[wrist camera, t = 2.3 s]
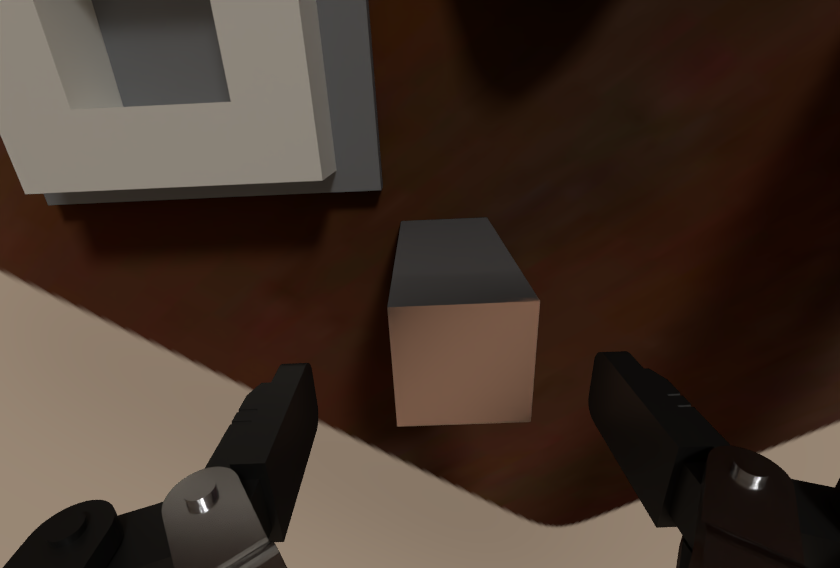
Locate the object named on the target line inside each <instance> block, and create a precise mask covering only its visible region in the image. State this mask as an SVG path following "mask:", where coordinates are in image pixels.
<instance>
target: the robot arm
mask: <svg viewBox="0 0 840 568" xmlns="http://www.w3.org/2000/svg"><path fill="white" fill-rule="evenodd" d="M588 402H589V410H590V414H591V417H592V419H593V421H594V423H595V425H596V426H597V428H598V430H599V432H600V433H601V435H602V437H603V438H604V440H605V442H606V443H607V445H608V447H609V448H610V450H611V452H612V453H613V455H614V457H615V458H616V460H617V462H618V463H619V465H620V467H621V469H622V470H623V472H624V474H625V475H626V477H627V479H628V480H629V482H630V484H631V485H632V487H633V489H634V490H635V492H636V494H637V495H638V497H639V499H640V501H641V502H642V504H643V506H644V507H645V509H646V510H647V512H648V513H649V516H650V517H651V519H652V521H653V522H654V524H655V526H656V527H678V529H679V530H680V532H681V533H682V535H683V536H682V539H681V542H680V546H679V552H678V559H677V566H676V568H840V479H839V481H838V483H837V485H836V487H835V488H834V487H829V486H824V485H818V484H814V483H809V482H803V481H799V480H794V479H791V478H790V477H789V476H788V474H786V472H785V471H784V470H782V468H780V467H779V466H778V465H777V464H775V463H774V462H772V461H771V460H769V459H768V458H766V457H764V456H762V455H760V454H758V453H756V452H753V451H751V450H748V449H744V448H741V447H736V446H731V445H730V444H729V443H728V442H727V441H726V440H725V439H724V438H723V437H722V436H721V435H720V434H719V433H718V432H717V431H716V430H715V429H714V428H713V427H712V425H711V424H710V423H709V422H708V421H707V420H706V419H705V418H704V417H703V416H702V415H701V414H700V413H699V412H698V411H697V410H696V409H695V408H694V407H691V404H690V403H689V402H688V401H687V400H686V399H685V397H684V396H681V395H680V392H679V391H678V390H677V389H676V388H675V387H674V386H673V385H672V384H671V383H670V382H669V381H668V380H667V379H665V378H664V377H662V376H660V375H659V374H657V373H655V372H654V371H652V370H650V369H644V368H643V367H642V366H641V365H640V364H639V363H638V362H637V361H636V360H635V359H634V357H633V356H632V355H631V354H630V353H629V352H626V351H621V352H599V353H597V355H596V357H595V360H594V366H593V373H592V379H591V385H590V392H589V401H588ZM317 426H318V405H317V399H316V393H315V386H314V380H313V374H312V368H311V365H310V364H309V363H296V364H281V365H280V367H279V369H278V371H277V373H276V374H275V376H274V378H273V380H272V382H271V383H261V384H260V385H259V386H257V387H256V388H255V389H254V390H253V391H252V392H250V393H249V394H248V395H247V396H246V398H245V400H244V401H243V403H242V405H241V407H240V408H239V412H238V413H236V415H235V417H234V419H233V420H232V424H231V425H230V426H229V427H228V429H227V431H226V432H225V434H224V436H223V438H222V439H221V441H220V443H219V445H218V446H217V448H216V450H215V452H214V453H213V455H212V457H211V458H210V460H209V462H208V464H207V465H206V467H205V469H202V470H199V471H197V472H195V473H193V474H191V475H189V476H187V477H186V478H184V479H183V480H181V481H180V482H179V483H178V484H176V485H175V487H173V489H172V490H171V491H170V492H169V493H168V495H167V496H166V498H165V500H164V502H161V503H158V504H155V505H152V506H148V507H145V508H142V509H138V510H135V511H132V512H128V513H125V514H122V515H119V516H117V514H116V511H115V509H114V507H113V506H112V504H110V503H109V502H107V501H104V500H90V501H85V502H82V503H78V504H75V505H73V506H70V507H68V508H66V509H64V510H62V511H61V512H59V513H57V514H55V515H54V516H52V517H51V518H49V519H48V520H46V521H45V522H44V523H42V524H41V525H40V526H39V527H38V528H37V529H36V530H35V531H34V532H33V533H32V534H31V535H30V536H29V537H28V538H27V539H26V541H25V542H24V543H23V544H22V545H21V546H20V548H19V549H18V550H17V551H16V552H15V554H14V555H13V556H12V557H11V558H10V560H9V561H8V562H7V563H6V564H5V566H4V567H3V568H287V567H286V565H285V563H284V560H283V558H282V556H281V554H280V552H279V550H278V548H277V547H276V545H275V543H274V542H284V540H285V536H286V533H287V529H288V526H289V523H290V519H291V516H292V512H293V509H294V506H295V502H296V499H297V495H298V492H299V489H300V485H301V482H302V479H303V475H304V472H305V468H306V465H307V462H308V458H309V455H310V451H311V448H312V445H313V441H314V438H315V434H316V431H317Z"/></svg>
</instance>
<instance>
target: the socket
mask: <svg viewBox="0 0 840 568" xmlns="http://www.w3.org/2000/svg"><path fill="white" fill-rule="evenodd" d="M0 135H1V137H2V140H3V142H4V144H5V147H6V149H7V152H8V154H9V156H10V159H11V161H12V164H13V166H14V168H15V171H16V173H17V176H18V178H19V180H20V183H21V185H22V188H23V190H24V192H25V194H39V193H44V196H45V198H46V201H47V203H48V205H64V204H86V203H109V202H131V201H153V200H175V199H197V198H219V197H242V196H264V195H286V194H308V193H330V192H353V191H375V190H381V189H382V187H383V183H382V170H381V157H380V144H379V132H378V119H377V106H376V93H375V81H374V68H373V55H372V42H371V29H370V17H369V4H368V0H0Z"/></svg>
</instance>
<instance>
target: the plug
mask: <svg viewBox="0 0 840 568" xmlns="http://www.w3.org/2000/svg"><path fill="white" fill-rule="evenodd" d="M539 307H540V300H539V299H538V297H537V296H536V294H535V292H534V291H533V289H532V288H531V286H530V285H529V283H528V281H527V280H526V278H525V277H524V275H523V274H522V272H521V270H520V269H519V267H518V266H517V264H516V263H515V261H514V259H513V258H512V256H511V255H510V253H509V252H508V250H507V248H506V247H505V245H504V244H503V242H502V241H501V239H500V237H499V236H498V234H497V233H496V231H495V230H494V228H493V226H492V225H491V223H490V222H489V220H488V219H487V218H464V219H441V220H418V221H401V225H400V232H399V238H398V244H397V250H396V256H395V263H394V269H393V275H392V281H391V288H390V294H389V300H388V306H387V309H388V321H389V333H390V345H391V357H392V369H393V381H394V393H395V405H396V417H397V427H399V426H427V425H454V424H482V423H509V422H531V410H532V397H533V384H534V371H535V359H536V346H537V333H538V320H539Z"/></svg>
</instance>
